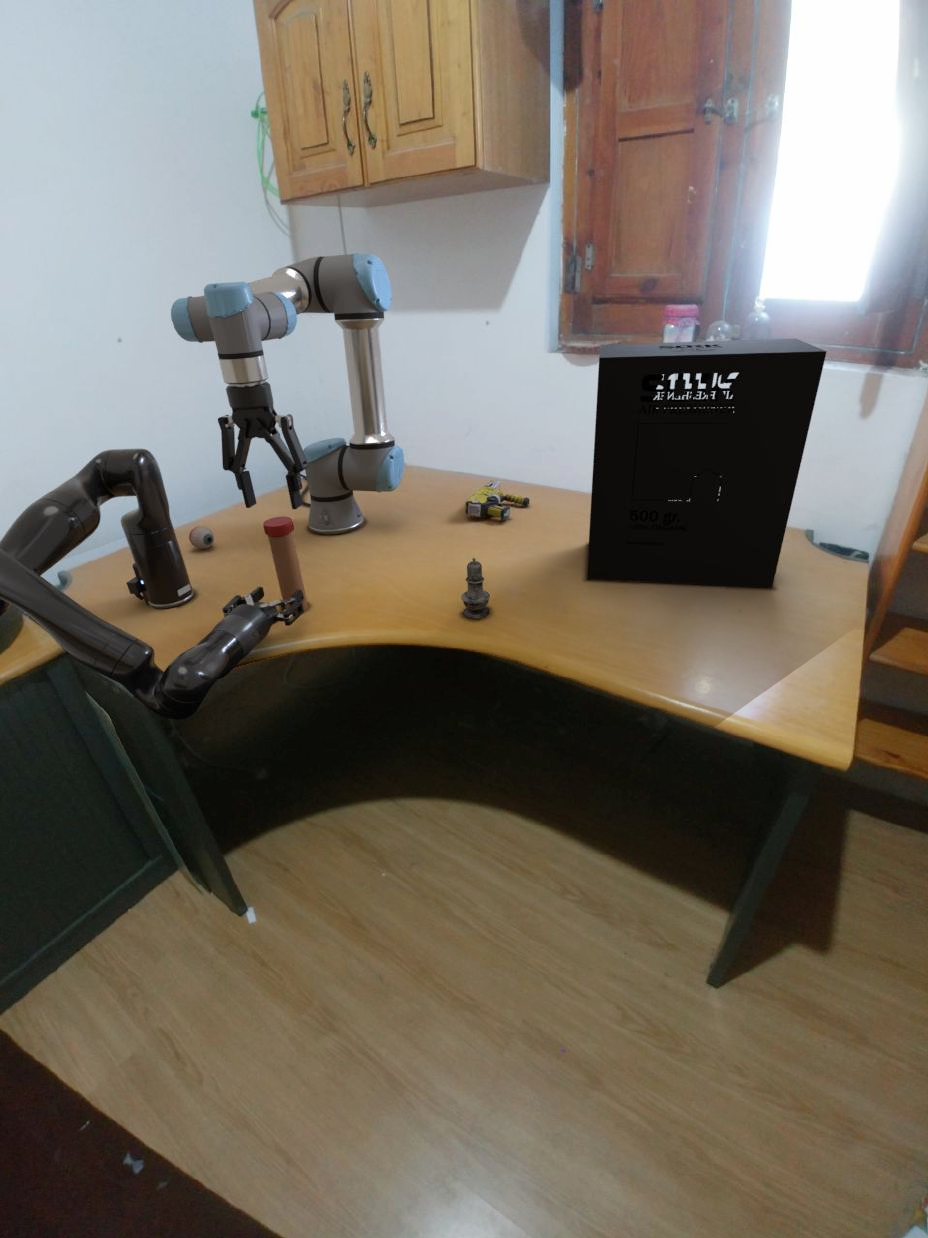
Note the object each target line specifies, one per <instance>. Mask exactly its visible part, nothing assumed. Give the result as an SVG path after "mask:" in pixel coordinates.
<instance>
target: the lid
mask: <svg viewBox="0 0 928 1238" xmlns="http://www.w3.org/2000/svg"><path fill="white" fill-rule="evenodd" d="M262 527H263V531H264V532H263V533H264V534H265V535H266V536H267V537H268V536H283V535H287V534H289V533H291V532H293V531H294V530H295V525H294V522H293V519H292V518H291V517H290V516H276V517H270V518H268V519H265V520H264V521H263V523H262Z"/></svg>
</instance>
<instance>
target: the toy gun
mask: <svg viewBox="0 0 928 1238" xmlns="http://www.w3.org/2000/svg"><path fill="white" fill-rule="evenodd" d="M530 500H531V499H530V497H527V496H526V497H525V496H524V497H523V496H521V495H520V496H519V495H517V494H516V495H514V494H511V493H506V494H505V495H504V493H503V491H501V482H500V481H499V480H496V481H495V480H490V481H489V482H488V483H487V484H485V485H483V487H482V488H480V489H479V490H478V491H477V492H476V493H474V494H473V495H472V497H470V498H469V499H468V500H467V501H465V504H464V513H465V515H466V516H469V517H470V518H473V519H476V518H485V517H489V516H492V517H497V518H500V521H501V522H503V521H505V520H507V519H509V518H510V514H511V513H510V512H511V506H510V505H506V506H504V505H503V504H502V503H503V502H506V503H511V504H513V503H514V504H515V505H516V504H517V505H521V506H524V507H528V506H529V505H530Z"/></svg>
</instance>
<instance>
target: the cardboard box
mask: <svg viewBox="0 0 928 1238" xmlns="http://www.w3.org/2000/svg"><path fill="white" fill-rule="evenodd" d="M827 352H828V351H827V350H824V349H822V348H820V347H818V346H815V345H813V344H811V343H808V342H806V341H802V340H801V339H799V338H768V339H766V338H765V339H737V340H736V339H735V340H709V341H708V340H707V341H705V340H703V341H675V342H672V341H671V342H648V343H647V342H646V343H645V342H644V343H643V342H642V343H616V344H615V343H614V344H612V343H611V344H600V348H599V355H598V356H599V358H598V370H597V371H598V372H597V390H596V391H597V392H596V409H595V410H596V411H595V426H594V445H593V459H592V460H593V461H592V462H593V463H592V479H591V497H590V515H589V532H588V533H589V535H588V547H587V548H588V549H587V568H586V580H588V581H611V582H635V583H655V584H657V583H658V584H675V585H676V584H679V585H698V586H699V585H703V586H725V587H743V588H744V587H745V588H746V587H747V588H768V589H773V586H774V582H775V578H776V573H777V569H778V565H779V560H780V555H781V550H782V548H783V543H784V540H785V539H784V538H785V534H786V530H787V525H788V521H789V517H790V513H791V512H790V511H791V509H792V504H793V499H794V496H795V490H796V486H797V483H798V477H799V474H800V469H801V465H802V461H803V456H804V451H805V447H806V444H807V443H806V442H807V439H808V434H809V429H810V425H811V421H812V416H813V412H814V408H815V404H816V400H817V395H818V391H819V387H820V382H821V378H822V373H823V368H824V365H825V360H826V356H827ZM685 374H689V378H688V385H690V388H686V384H687V379H685V378H684V375H685ZM699 374H700V379H699V378H697V375H699ZM715 374H716V380H715V384H714V386H713V383H714V378H715ZM731 374H736V376H735V378H729V377H730V376H731ZM672 375H677V378H676V379H675V380H674V384H673V385H674V387H673V388H671V385H672V379H671V378H670V377H671V376H672ZM719 379H720V381H719ZM700 384H701V385H705V387H704V388H699V385H700ZM719 384H720V385H724V384H729V387H720V386H719ZM659 386H661V387H662V388H658V387H659Z"/></svg>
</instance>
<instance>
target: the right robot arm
mask: <svg viewBox="0 0 928 1238" xmlns="http://www.w3.org/2000/svg"><path fill="white" fill-rule="evenodd" d="M392 299H393V295H392V285H391V281H390V277H389V274H388V272H387V269H386V267H385V265H384V263H383V262H382V260H381V259H380V258H379V257H378V256H377V255H375V254H372V253H359V252H357V253H349V254H339V255H325V256H322V255H321V256H320V255H319V256H314V257H309V258H306V259H304V260H301V261H300V260H299V261H297V262H294V263H292V264H289V265H286V266H284V267H279V268H277V269H276V270H275V271H274V272H273V273H272V275H270V276H268V277H264V278H260V279H257V280H253V281H250V282H246V281H234V282H218V283H217V282H216V283H208V284H206V285H205V286H204V288H203V295H199V296H191V295H190V296H189V295H188V296H187V297H180V298H177V299H176V300H175V301H174V302H173V303H172V305H171V308H170V319H171V321H172V325H173V328H174V330H175V332H176V334H177V335H178V336H179V337H180V338H181V339H183V340H184V341H186V342H190V343H191V342H192V343H201V344H203V343H207V342H214V343H215V347H216V351H217V357H218V362H219V366H220V372H221V377H222V380H223V383H224V384H227V386H226V388H225V392H226V396H227V401H228V405H229V407H230V408H231V415H230V414H224V415H222V416H220V417H218V418H217V422H218V425H219V428H220V432H221V433H220V434H221V458H222V459H221V460H222V469H223V470H224V471H229V472H231V473H233V475H234V477H235V482H236V486H237V489H238V490H239V491H241V493H242V496H243V501H244V505H245V508H246V509H251V508H252V507H254V506H255V505H257V499H256V495H255V490H254V486H253V481H252V478H251V473H250V470H247V467H246V464H247V460H248V456H249V452H250V447H251V443H252V440H253V439H255V438H257V439H264V441H265V442H266V443H267V444H269V446H270V447H271V448H272V450H273V452H274V453H275V454H276V456H277V457H278V459H279V460H280V462H281V463H282V465H283V467H284V468H285V469H286V471H287V474H285V481H286V486H287V490H288V495H289V500H290V504H291V505H290V506H291V510H298V509H299V508H300V507H301V506H303V505H304V506H307V507H309V513H308V528H309V529H308V530H310V531H311V532H312V533H314V534H317V535H323V536H324V535H325V536H327V535H329V536H331V535H339V534H340V535H341V534H345V533H350V532H353V531H355V530H357V529H359V528H361V527H362V526H363V525H364V523H365V519H364V514H363V512H362V510H361V508H360V505H359V504H358V501H357V500H356V498H355V495H354V492H355V491H356V492H375V493H382V492H383V493H385V492H387V493H391V492H393V491H395V490H397V488H398V487H399V486H400V484H401V482H402V479H403V476H404V472H405V453H404V450H403V448H402V447H400V446H399V445H396V440H395V437H394V436H393V435H392V434H391V433H390V431H389V429H388V418H387V406H386V395H385V384H384V371H383V362H382V361H383V360H382V350H381V349H382V348H381V339H380V326H381V325H382V324H383V323H384V321H385V312H387V311H388V310H390V308H391V305H392ZM300 314H333V316H334V317H333V318H334V322H335V323H336V324H337V325H338V326H339V328H341V330H342V339H343V346H344V356H345V364H346V373H347V381H348V391H349V400H350V408H351V420H352V428H353V435H352V436H351V437H350V438H349V440H348V443H349V445H348V444H347V441H346V439H345V438H342V437H334V438H328V439H323V440H318V441H315V442H313V443H309V444H308V445H306V446H305V447H304V448H303V447H302V445H301V442H300V440H299V437H298V435H297V432H296V429H295V427H294V417H293V414H290V413H288V414H285V415H284V414H278V412H277V411H276V410H275V407H274V397H273V392H272V388H271V387H272V386H271V384H270V383H269V381H267V380H268V379H269V374H268V369H267V364H266V363H267V362H266V358H265V354H264V347H263V343H262V342H265V341H272V340H281V339H283V338H285V337H287V336H289V335H290V334H292V333H293V332H294V331H295V329H296V327H297V322H298V316H297V315H300ZM277 424H278V428H280V429H281V433H282V437H283V438H284V440H285V441H283V439H282V437H281V433H280V432H279V430H278V429H277V427H276V425H277ZM235 426H236V427H237V428H238V429H239V431H238V435H237V446H236V443H235V442H236V439H235ZM304 471H305V475H304V474H303V473H301V472H304ZM302 478H303V479H306V481H307V485H306V487H305V488H304V489H303V487H304V486H303V482H302V481H303V480H302ZM302 489H303V491H302V492H301V490H302ZM307 491H308V492H309V498H310V503H309V502H305V500H303V498H304V495H305V493H306V492H307Z"/></svg>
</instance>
